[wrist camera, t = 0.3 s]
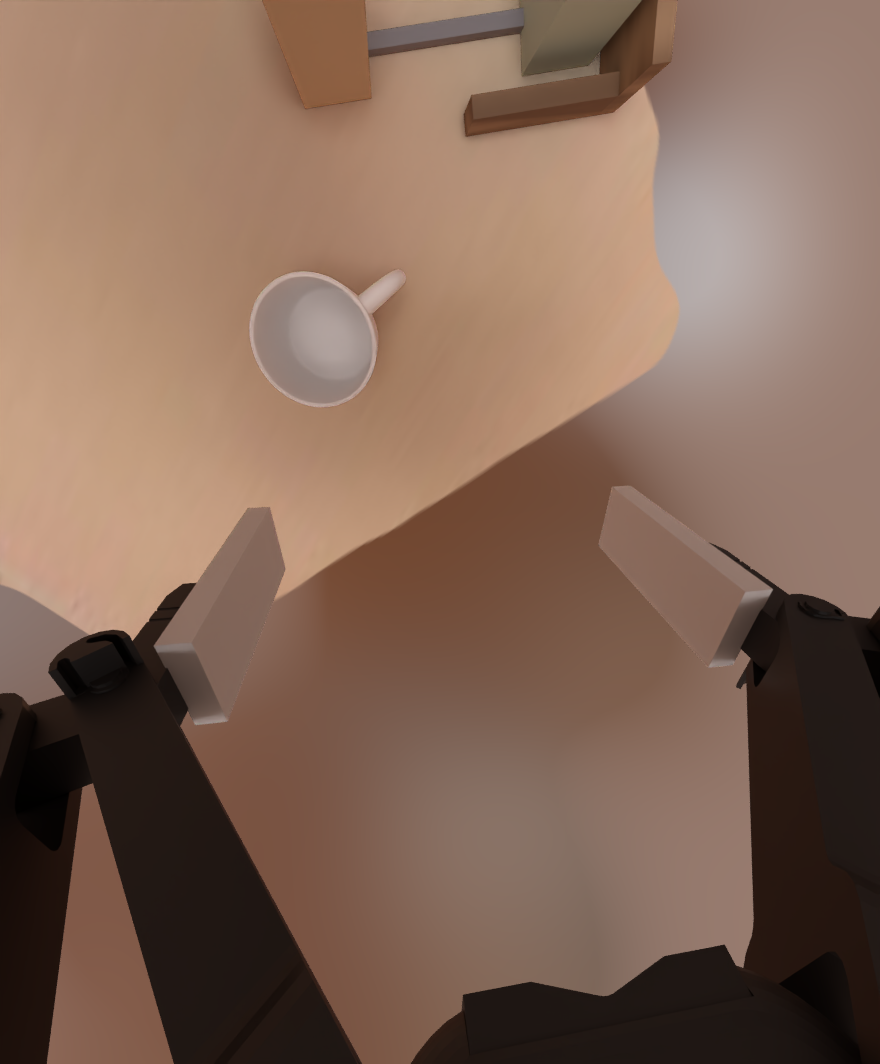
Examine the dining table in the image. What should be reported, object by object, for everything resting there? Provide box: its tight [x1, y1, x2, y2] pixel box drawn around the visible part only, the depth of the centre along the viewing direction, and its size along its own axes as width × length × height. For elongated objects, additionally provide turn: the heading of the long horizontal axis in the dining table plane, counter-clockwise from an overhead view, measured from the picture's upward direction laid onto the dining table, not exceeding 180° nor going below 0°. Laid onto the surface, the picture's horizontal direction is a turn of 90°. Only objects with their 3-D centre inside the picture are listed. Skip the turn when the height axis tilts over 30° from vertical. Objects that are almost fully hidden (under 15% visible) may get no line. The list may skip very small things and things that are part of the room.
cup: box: [249, 269, 406, 407], centre depth 30 cm, size 8×12×10 cm
